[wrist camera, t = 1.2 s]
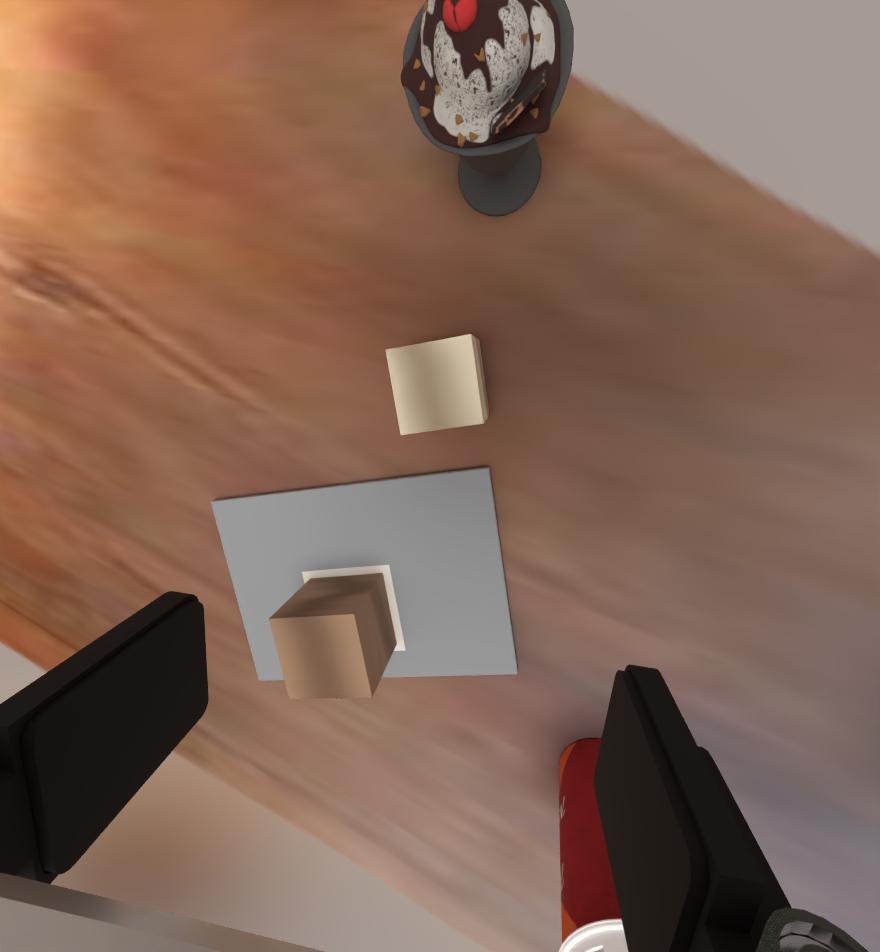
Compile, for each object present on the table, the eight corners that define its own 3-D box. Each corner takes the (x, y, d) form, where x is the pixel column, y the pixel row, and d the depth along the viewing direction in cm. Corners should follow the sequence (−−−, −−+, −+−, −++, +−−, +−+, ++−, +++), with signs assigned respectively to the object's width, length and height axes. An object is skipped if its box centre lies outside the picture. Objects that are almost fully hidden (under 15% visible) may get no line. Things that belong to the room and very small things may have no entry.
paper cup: (525, 763, 36) (526, 994, 23) (593, 708, 34) (639, 927, 21) (598, 825, 36) (643, 1091, 23) (671, 774, 34) (768, 1035, 21)
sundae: (443, 114, 27) (352, -181, 13) (558, 102, 26) (602, -238, 11) (443, 234, 28) (361, 93, 14) (551, 228, 27) (583, 68, 13)
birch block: (479, 340, 30) (470, 333, 25) (489, 415, 31) (483, 423, 26) (407, 353, 31) (385, 349, 26) (419, 425, 32) (400, 435, 27)
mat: (489, 466, 31) (488, 468, 31) (517, 668, 34) (517, 675, 34) (215, 499, 36) (210, 502, 35) (263, 675, 39) (258, 681, 38)
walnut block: (382, 572, 34) (354, 614, 28) (396, 643, 35) (372, 697, 29) (310, 578, 35) (268, 618, 29) (326, 646, 36) (289, 698, 30)
